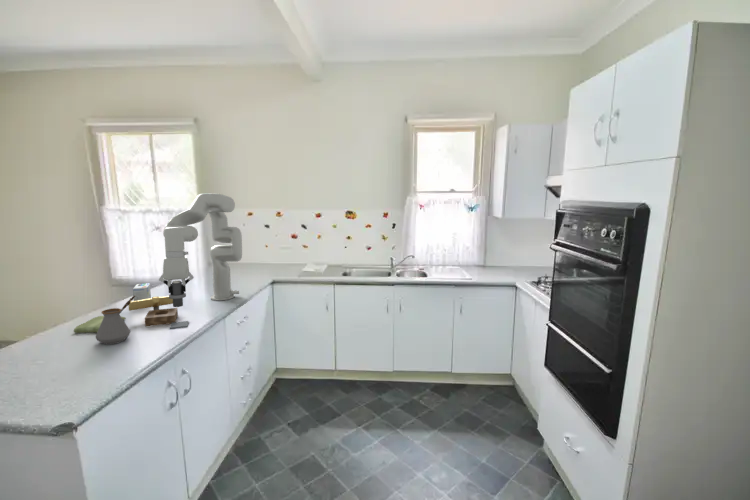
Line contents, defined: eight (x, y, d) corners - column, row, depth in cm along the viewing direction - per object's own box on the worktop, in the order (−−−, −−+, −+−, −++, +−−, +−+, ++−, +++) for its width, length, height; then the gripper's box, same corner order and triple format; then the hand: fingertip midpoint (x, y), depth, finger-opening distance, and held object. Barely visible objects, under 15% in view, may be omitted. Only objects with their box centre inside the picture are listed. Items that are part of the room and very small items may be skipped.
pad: (188, 322, 167) (188, 320, 166) (187, 327, 160) (187, 325, 160) (171, 323, 164) (171, 322, 164) (169, 328, 157) (169, 327, 157)
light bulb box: (137, 302, 194) (136, 283, 192) (151, 301, 197) (150, 282, 195) (133, 308, 184) (132, 288, 183) (148, 306, 187) (147, 287, 186)
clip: (175, 303, 176) (174, 294, 175) (129, 311, 163) (128, 301, 162) (173, 302, 178) (172, 293, 177) (128, 309, 165) (127, 299, 164)
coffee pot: (118, 346, 138) (115, 310, 136) (88, 346, 138) (85, 309, 135) (150, 326, 159) (148, 295, 157) (124, 326, 159) (122, 294, 156)
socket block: (178, 314, 177) (177, 303, 176) (175, 323, 164) (174, 312, 163) (150, 316, 172) (149, 306, 171) (145, 326, 159) (144, 315, 159)
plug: (186, 303, 165) (185, 279, 163) (185, 307, 159) (184, 282, 157) (170, 304, 162) (169, 280, 160) (168, 308, 156) (167, 283, 154)
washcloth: (127, 320, 168) (127, 313, 168) (103, 334, 151) (103, 327, 150) (98, 320, 167) (97, 314, 166) (70, 334, 149) (69, 327, 149)
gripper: (196, 252, 164) (198, 290, 166) (154, 254, 157) (157, 293, 160) (195, 255, 157) (197, 294, 160) (152, 256, 150) (154, 297, 153)
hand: (177, 293), depth 160 cm, fingers closed on plug, 4 cm apart
